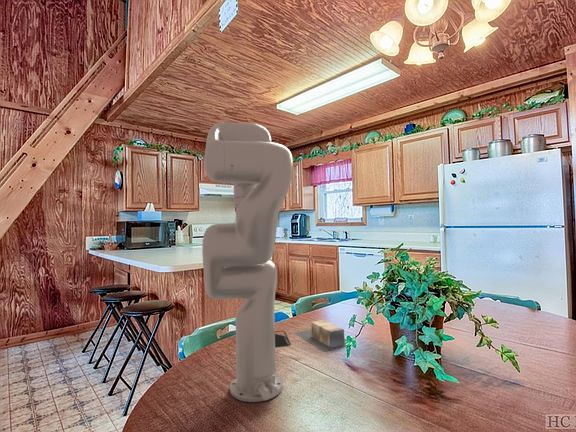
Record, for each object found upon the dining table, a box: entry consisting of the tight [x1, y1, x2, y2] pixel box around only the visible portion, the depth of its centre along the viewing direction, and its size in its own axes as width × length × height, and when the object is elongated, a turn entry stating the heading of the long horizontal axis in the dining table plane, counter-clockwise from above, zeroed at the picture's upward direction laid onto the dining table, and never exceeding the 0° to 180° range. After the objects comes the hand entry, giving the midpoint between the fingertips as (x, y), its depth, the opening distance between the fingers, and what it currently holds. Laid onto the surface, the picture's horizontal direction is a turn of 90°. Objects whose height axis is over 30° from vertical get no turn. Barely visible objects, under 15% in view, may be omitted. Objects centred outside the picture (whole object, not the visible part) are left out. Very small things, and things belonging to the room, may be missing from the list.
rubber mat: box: [294, 329, 347, 353], centre depth 108 cm, size 20×12×1 cm, turn 27°
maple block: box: [310, 319, 345, 348], centre depth 106 cm, size 5×5×12 cm
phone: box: [275, 330, 292, 348], centre depth 109 cm, size 8×1×15 cm
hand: (246, 257), depth 106 cm, fingers closed
